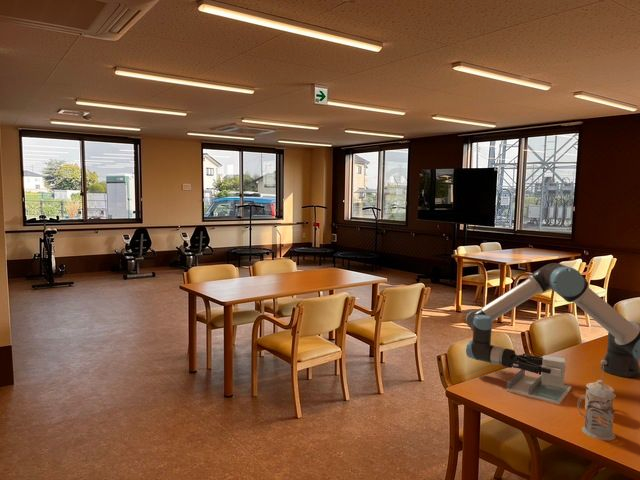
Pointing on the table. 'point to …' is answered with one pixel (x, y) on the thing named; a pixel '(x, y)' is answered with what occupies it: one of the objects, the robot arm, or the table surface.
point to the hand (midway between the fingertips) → (562, 370)
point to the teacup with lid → (609, 401)
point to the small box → (551, 379)
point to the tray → (536, 388)
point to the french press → (591, 425)
